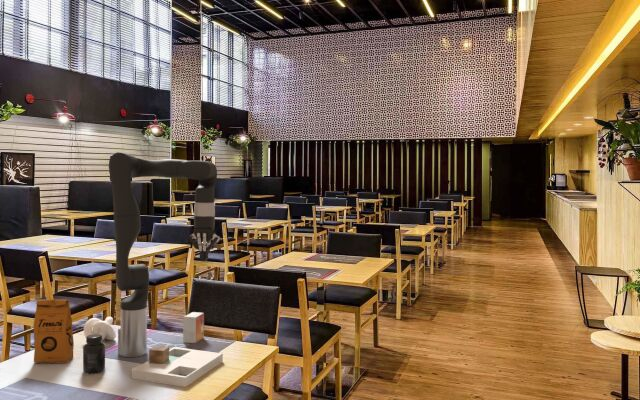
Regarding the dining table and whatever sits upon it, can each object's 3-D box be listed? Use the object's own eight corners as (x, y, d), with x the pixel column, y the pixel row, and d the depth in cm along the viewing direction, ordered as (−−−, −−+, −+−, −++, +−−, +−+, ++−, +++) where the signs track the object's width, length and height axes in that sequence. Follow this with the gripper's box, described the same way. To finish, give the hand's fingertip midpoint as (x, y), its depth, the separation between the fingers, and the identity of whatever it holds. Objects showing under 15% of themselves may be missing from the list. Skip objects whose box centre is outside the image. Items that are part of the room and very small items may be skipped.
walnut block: (148, 363, 170) (149, 350, 170) (155, 358, 175) (155, 345, 175) (163, 364, 170) (163, 350, 170) (169, 359, 175) (169, 346, 174)
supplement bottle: (109, 369, 172) (109, 334, 172) (94, 376, 166) (94, 340, 165) (93, 366, 175) (93, 331, 174) (78, 373, 168) (78, 337, 168)
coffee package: (66, 365, 175) (66, 302, 174) (29, 365, 174) (29, 302, 173) (78, 355, 184) (78, 296, 184) (43, 355, 184) (43, 296, 183)
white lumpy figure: (124, 339, 205) (124, 317, 205) (100, 347, 194) (100, 324, 194) (104, 335, 210) (104, 313, 209) (79, 343, 199) (79, 320, 199)
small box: (195, 343, 201) (195, 317, 200) (182, 342, 202) (182, 316, 202) (204, 337, 209) (204, 312, 208) (191, 336, 210) (191, 311, 209)
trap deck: (131, 378, 164) (132, 369, 164) (174, 355, 187) (174, 347, 187) (185, 387, 158) (185, 377, 158) (222, 361, 181) (222, 353, 181)
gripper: (183, 214, 186) (182, 261, 187) (215, 216, 182) (214, 263, 183) (194, 213, 193) (193, 258, 194) (225, 214, 189) (224, 260, 190)
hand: (203, 261), depth 188 cm, fingers closed
